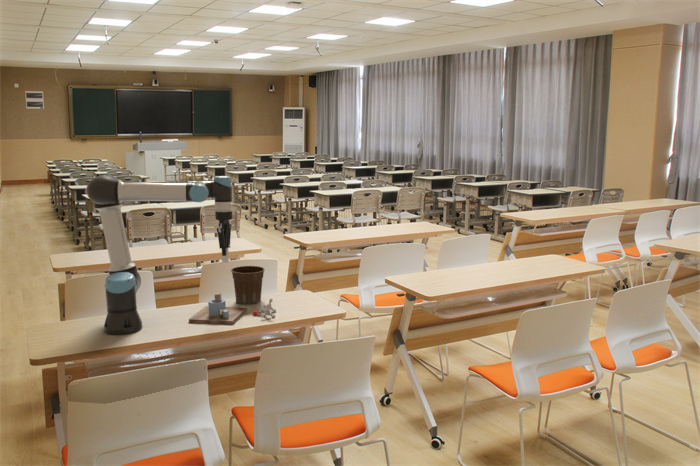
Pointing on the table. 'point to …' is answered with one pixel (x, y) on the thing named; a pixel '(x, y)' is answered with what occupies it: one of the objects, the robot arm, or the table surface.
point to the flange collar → (218, 308)
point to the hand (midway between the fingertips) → (225, 262)
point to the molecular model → (265, 310)
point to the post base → (206, 318)
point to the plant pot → (248, 283)
